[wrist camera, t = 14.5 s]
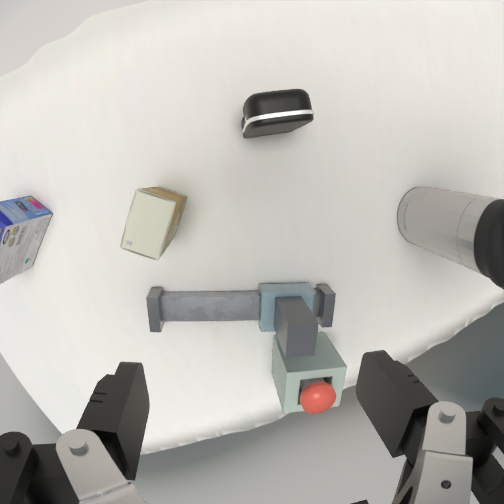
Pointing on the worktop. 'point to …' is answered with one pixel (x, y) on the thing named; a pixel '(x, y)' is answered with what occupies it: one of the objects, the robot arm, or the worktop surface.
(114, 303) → the worktop surface
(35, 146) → the worktop surface
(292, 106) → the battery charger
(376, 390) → the robot arm
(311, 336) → the carriage
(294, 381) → the button housing
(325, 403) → the red button
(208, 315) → the rail
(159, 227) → the skincare box
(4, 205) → the ink cartridge box
